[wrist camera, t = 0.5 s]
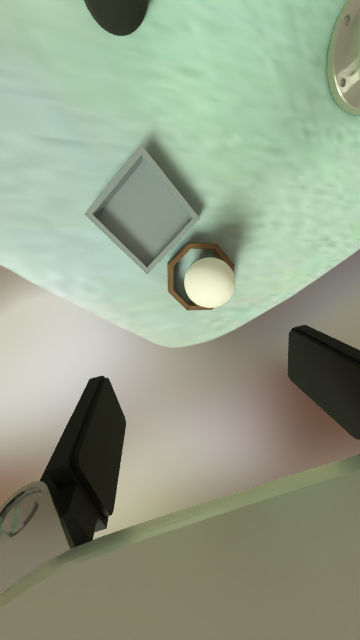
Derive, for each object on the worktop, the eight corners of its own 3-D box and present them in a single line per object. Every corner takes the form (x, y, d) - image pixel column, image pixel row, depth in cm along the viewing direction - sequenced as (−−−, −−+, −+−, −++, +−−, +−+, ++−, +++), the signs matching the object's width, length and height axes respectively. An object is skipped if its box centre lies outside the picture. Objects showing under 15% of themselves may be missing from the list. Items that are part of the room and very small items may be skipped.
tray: (142, 154, 25) (141, 144, 23) (196, 221, 29) (199, 218, 26) (90, 217, 27) (84, 213, 24) (147, 272, 30) (147, 274, 28)
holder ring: (200, 229, 29) (204, 227, 27) (238, 276, 33) (244, 278, 30) (154, 276, 31) (154, 278, 28) (196, 316, 34) (199, 321, 32)
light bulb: (192, 247, 30) (212, 246, 20) (224, 270, 32) (257, 279, 22) (170, 283, 32) (179, 299, 21) (202, 302, 34) (224, 325, 23)
